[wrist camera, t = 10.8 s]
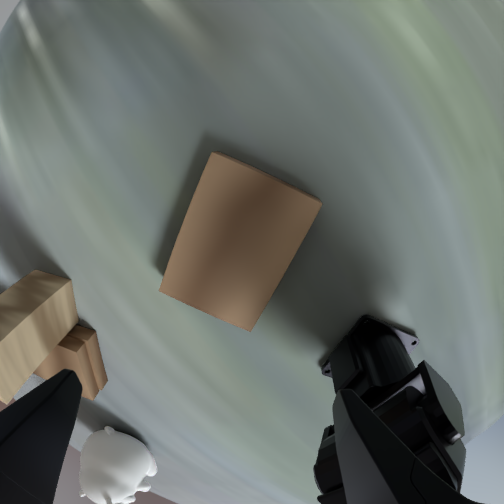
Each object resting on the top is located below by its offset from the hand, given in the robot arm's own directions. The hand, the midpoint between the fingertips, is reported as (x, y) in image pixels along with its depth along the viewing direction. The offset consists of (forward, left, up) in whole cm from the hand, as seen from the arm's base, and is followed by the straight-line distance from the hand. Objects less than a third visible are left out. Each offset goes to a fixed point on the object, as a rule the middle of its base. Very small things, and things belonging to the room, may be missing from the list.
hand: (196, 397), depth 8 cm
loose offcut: (+1, -1, -12) cm, 12 cm away
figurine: (+4, +32, -13) cm, 35 cm away
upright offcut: (+14, +12, -12) cm, 22 cm away
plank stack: (+16, +19, -12) cm, 28 cm away
